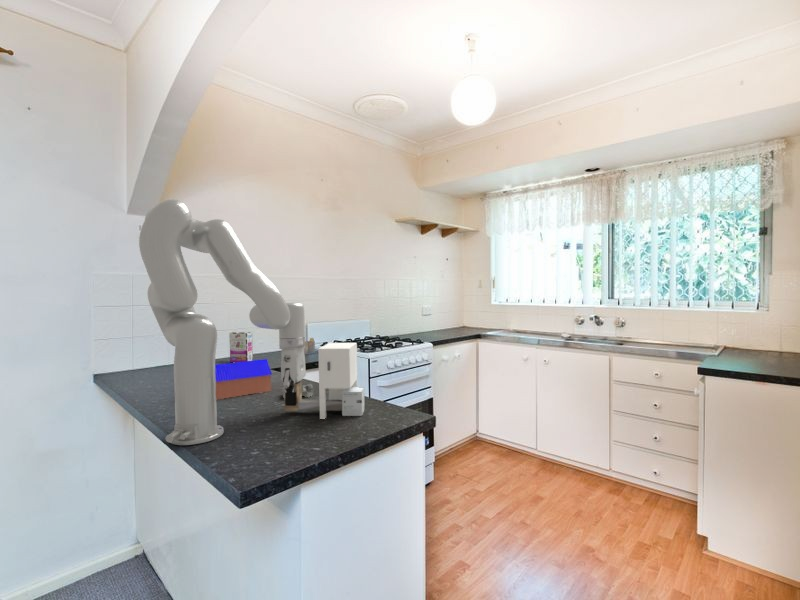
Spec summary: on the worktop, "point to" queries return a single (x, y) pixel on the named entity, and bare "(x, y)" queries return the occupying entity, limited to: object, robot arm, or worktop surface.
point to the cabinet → (336, 371)
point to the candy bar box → (241, 346)
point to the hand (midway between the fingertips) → (293, 402)
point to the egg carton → (305, 390)
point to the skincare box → (353, 401)
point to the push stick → (310, 402)
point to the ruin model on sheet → (309, 346)
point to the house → (242, 378)
